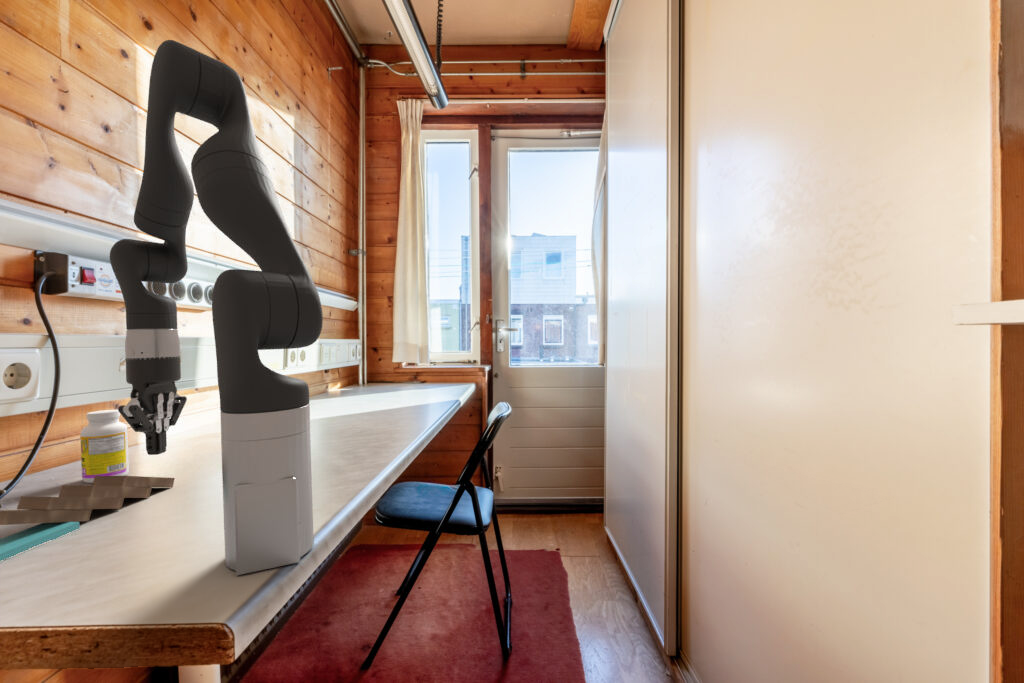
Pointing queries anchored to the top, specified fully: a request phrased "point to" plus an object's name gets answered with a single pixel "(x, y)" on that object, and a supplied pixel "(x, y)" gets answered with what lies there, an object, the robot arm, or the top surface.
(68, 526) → the domino
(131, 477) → the domino
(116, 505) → the domino
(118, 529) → the top surface
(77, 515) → the domino
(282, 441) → the robot arm
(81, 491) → the domino
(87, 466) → the supplement bottle
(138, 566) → the top surface
